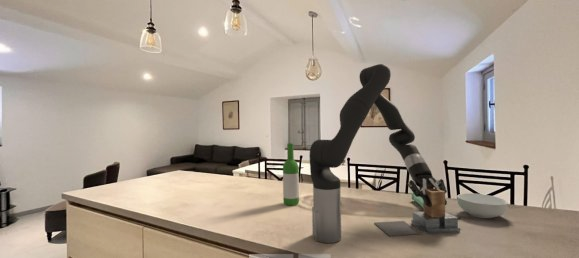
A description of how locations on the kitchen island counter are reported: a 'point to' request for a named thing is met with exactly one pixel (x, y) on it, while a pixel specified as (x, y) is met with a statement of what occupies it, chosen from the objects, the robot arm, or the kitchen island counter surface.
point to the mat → (397, 228)
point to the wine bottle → (290, 179)
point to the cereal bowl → (482, 205)
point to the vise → (436, 223)
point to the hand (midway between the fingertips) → (437, 205)
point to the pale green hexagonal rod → (417, 199)
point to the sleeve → (435, 203)
